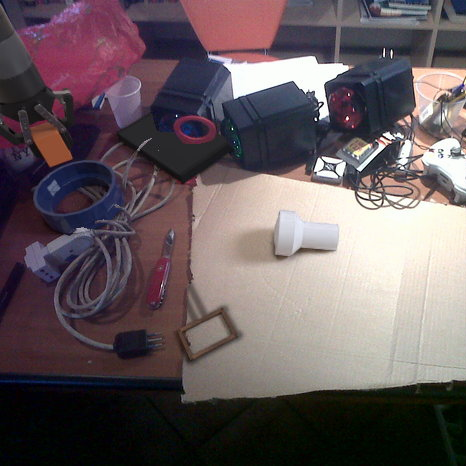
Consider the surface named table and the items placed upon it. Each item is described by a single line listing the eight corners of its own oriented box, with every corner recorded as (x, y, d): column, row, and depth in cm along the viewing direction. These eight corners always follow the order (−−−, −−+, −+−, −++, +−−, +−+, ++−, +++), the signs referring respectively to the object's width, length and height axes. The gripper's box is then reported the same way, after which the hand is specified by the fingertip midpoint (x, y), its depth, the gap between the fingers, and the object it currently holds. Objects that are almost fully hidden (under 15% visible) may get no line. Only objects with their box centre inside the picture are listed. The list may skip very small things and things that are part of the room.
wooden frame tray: (192, 364, 75) (190, 360, 74) (157, 286, 85) (154, 281, 83) (239, 339, 77) (238, 335, 76) (199, 266, 87) (197, 261, 86)
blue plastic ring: (56, 248, 91) (41, 228, 87) (41, 199, 100) (27, 178, 95) (134, 216, 96) (124, 195, 91) (114, 172, 104) (103, 150, 100)
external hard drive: (184, 187, 100) (181, 176, 98) (120, 143, 111) (115, 132, 109) (235, 151, 107) (232, 141, 105) (170, 113, 117) (166, 102, 115)
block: (50, 167, 86) (33, 140, 81) (45, 154, 88) (29, 127, 83) (72, 159, 87) (57, 132, 82) (68, 146, 89) (53, 119, 84)
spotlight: (273, 223, 91) (277, 200, 84) (333, 228, 92) (342, 206, 85) (271, 262, 87) (275, 241, 80) (333, 267, 88) (342, 247, 81)
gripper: (48, 39, 77) (91, 127, 91) (-48, 67, 73) (11, 154, 86) (58, 60, 73) (101, 149, 86) (-44, 91, 69) (17, 179, 82)
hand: (55, 151), depth 86 cm, fingers closed on block, 4 cm apart
